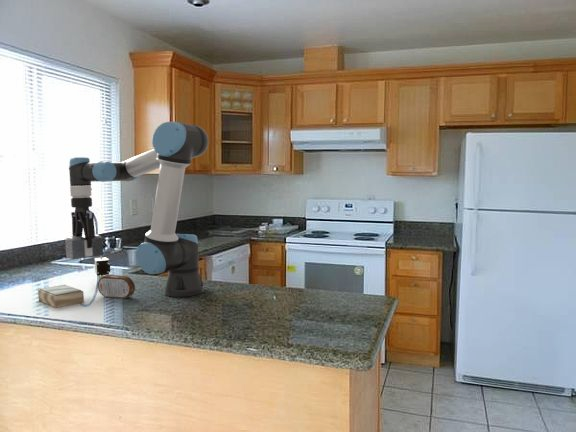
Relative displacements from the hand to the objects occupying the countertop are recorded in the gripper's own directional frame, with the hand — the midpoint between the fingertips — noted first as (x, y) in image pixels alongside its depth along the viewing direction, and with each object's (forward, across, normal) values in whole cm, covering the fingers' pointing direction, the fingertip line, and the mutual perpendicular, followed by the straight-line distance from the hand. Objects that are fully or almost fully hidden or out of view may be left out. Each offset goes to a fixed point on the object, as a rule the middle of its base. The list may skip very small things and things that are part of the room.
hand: (84, 255), depth 191 cm
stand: (+15, -6, +13) cm, 21 cm away
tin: (+15, -18, -2) cm, 24 cm away
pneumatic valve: (+15, +9, -12) cm, 21 cm away
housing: (0, 0, 0) cm, 0 cm away
